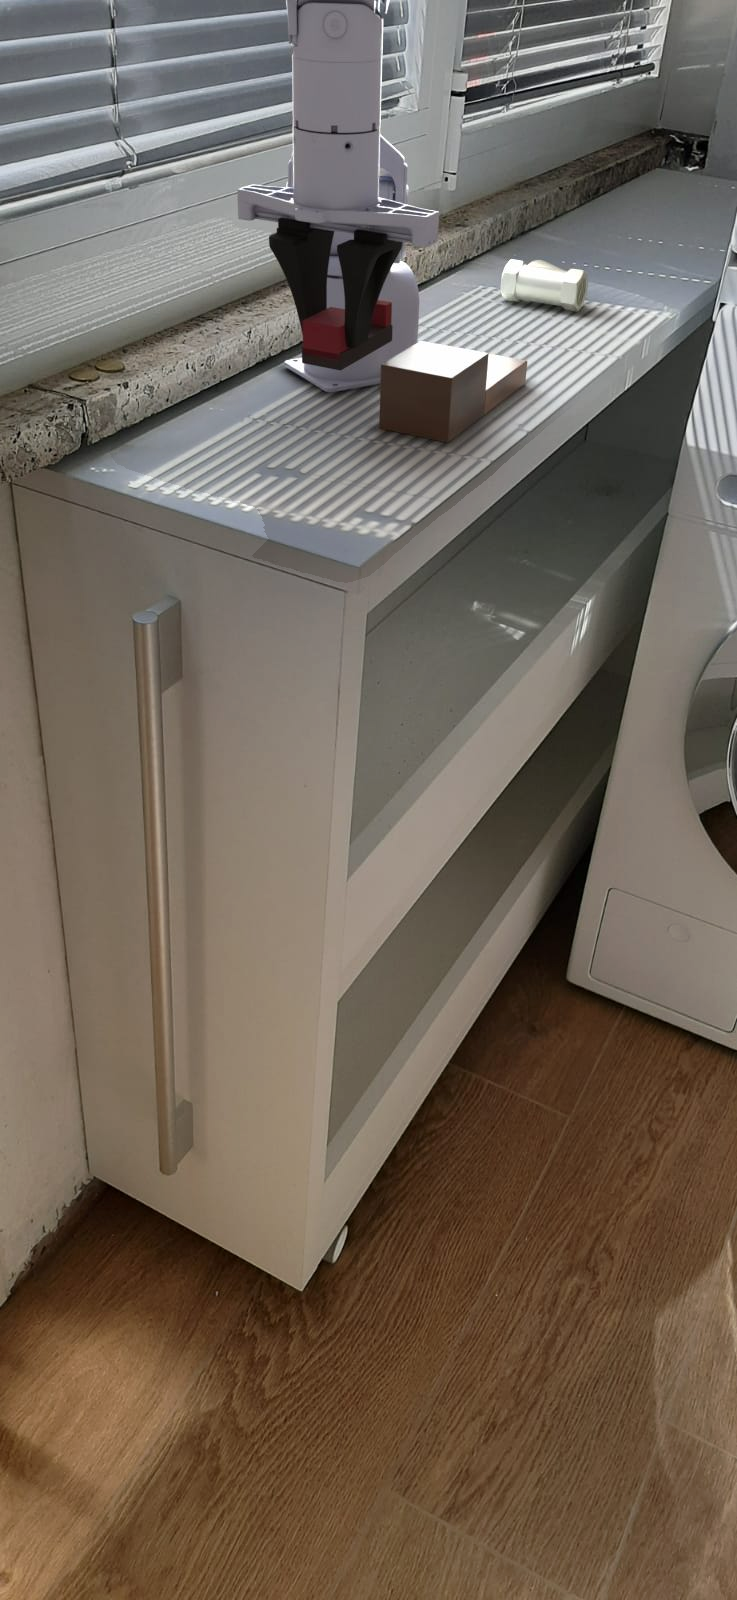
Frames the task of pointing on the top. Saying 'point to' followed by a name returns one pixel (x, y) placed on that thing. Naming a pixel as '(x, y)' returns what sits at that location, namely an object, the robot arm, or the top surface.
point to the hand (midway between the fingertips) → (334, 339)
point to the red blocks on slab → (342, 337)
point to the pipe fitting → (544, 284)
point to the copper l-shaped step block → (444, 389)
